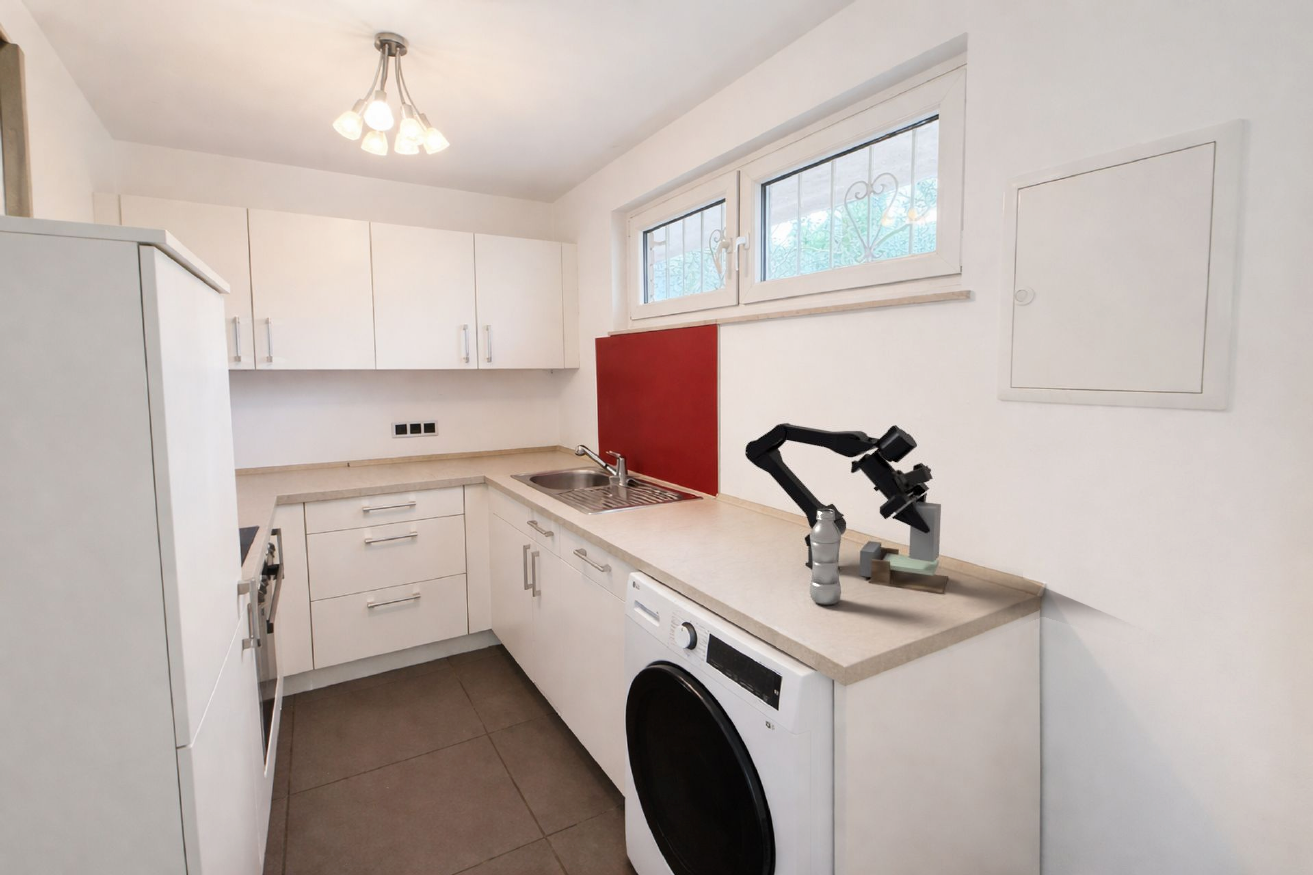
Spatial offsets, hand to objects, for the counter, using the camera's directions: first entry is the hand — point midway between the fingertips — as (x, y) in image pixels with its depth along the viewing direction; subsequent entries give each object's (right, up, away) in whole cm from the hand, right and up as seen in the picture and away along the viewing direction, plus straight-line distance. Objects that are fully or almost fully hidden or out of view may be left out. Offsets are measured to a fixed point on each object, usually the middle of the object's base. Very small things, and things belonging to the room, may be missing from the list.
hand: (931, 529), depth 136 cm
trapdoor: (-4, -12, +8) cm, 15 cm away
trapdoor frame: (-2, -13, +7) cm, 15 cm away
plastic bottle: (-25, -15, -5) cm, 30 cm away
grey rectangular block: (-1, -7, +2) cm, 7 cm away
